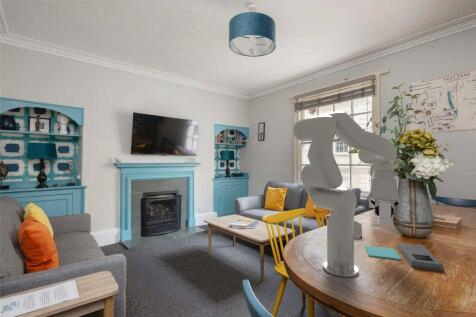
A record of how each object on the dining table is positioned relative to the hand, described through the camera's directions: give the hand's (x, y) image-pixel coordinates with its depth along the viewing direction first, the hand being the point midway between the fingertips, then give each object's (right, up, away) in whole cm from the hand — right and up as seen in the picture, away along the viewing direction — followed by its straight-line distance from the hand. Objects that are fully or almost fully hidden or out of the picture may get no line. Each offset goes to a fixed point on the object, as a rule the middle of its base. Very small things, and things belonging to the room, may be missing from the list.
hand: (384, 215), depth 107 cm
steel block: (0, -4, 0) cm, 4 cm away
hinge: (-4, -18, +28) cm, 34 cm away
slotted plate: (+11, -17, -5) cm, 21 cm away
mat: (0, -17, +1) cm, 17 cm away
